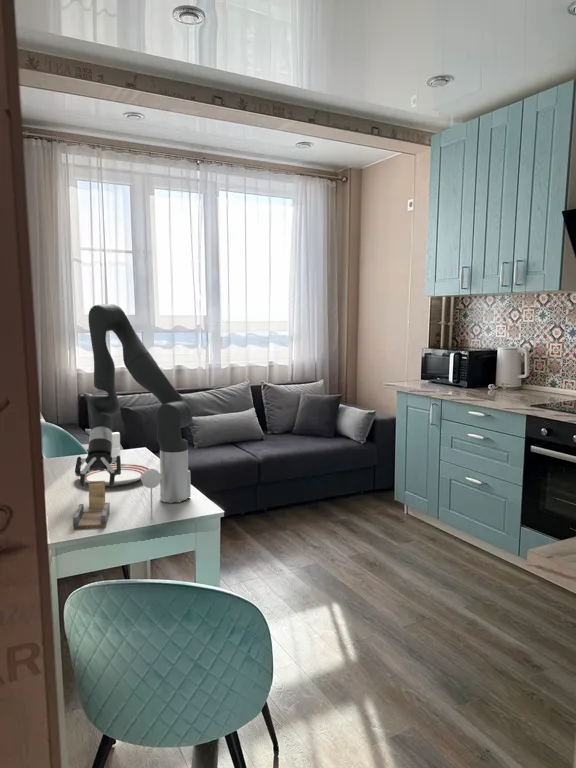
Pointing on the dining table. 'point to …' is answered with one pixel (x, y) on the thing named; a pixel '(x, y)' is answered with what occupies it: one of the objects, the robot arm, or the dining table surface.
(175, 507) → the dining table surface
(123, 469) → the dinner plate
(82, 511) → the walnut track
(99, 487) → the oak block
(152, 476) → the lollipop
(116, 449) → the base with upright slab
